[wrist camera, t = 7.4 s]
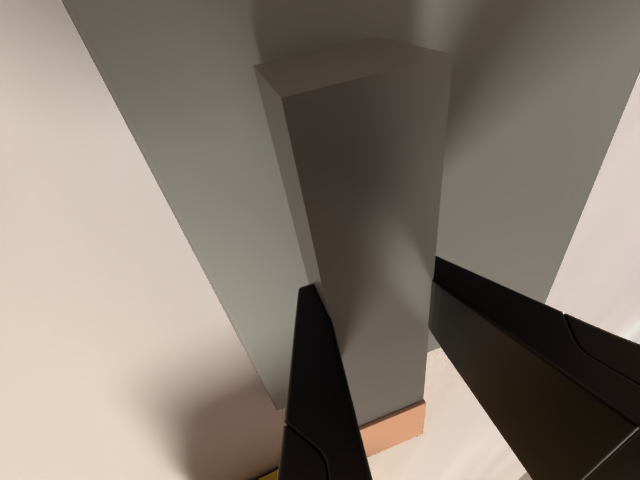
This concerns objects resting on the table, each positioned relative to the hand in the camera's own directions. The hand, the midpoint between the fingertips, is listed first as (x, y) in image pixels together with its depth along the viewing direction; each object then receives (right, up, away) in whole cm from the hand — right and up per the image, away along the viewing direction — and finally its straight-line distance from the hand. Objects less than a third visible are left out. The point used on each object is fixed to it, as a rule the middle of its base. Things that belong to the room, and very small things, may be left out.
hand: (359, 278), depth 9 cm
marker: (0, 0, +2) cm, 1 cm away
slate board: (+2, +2, +2) cm, 3 cm away
